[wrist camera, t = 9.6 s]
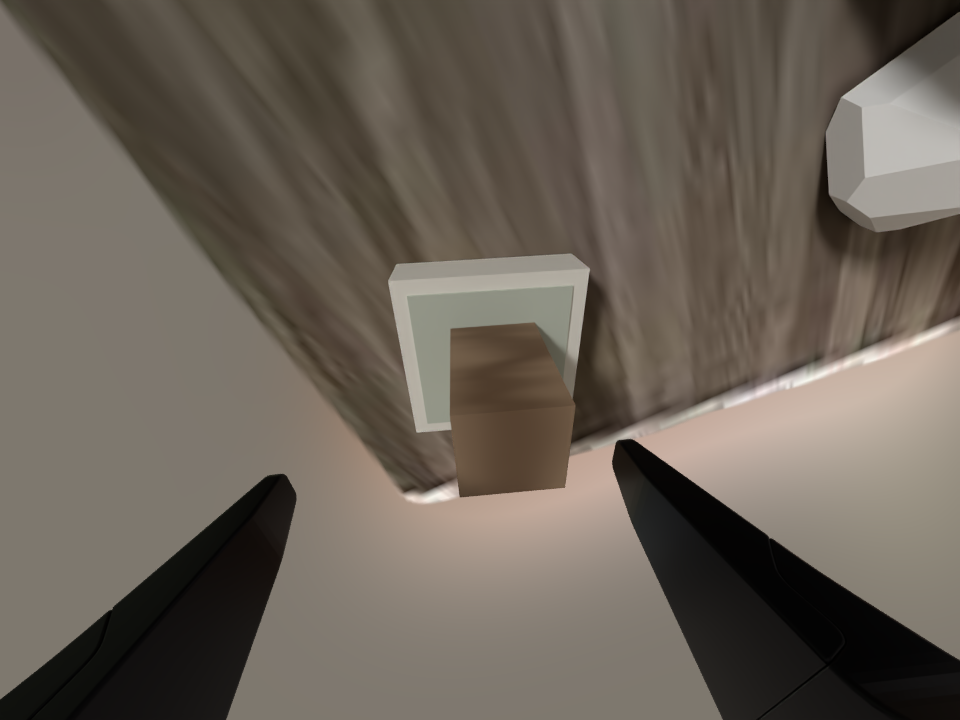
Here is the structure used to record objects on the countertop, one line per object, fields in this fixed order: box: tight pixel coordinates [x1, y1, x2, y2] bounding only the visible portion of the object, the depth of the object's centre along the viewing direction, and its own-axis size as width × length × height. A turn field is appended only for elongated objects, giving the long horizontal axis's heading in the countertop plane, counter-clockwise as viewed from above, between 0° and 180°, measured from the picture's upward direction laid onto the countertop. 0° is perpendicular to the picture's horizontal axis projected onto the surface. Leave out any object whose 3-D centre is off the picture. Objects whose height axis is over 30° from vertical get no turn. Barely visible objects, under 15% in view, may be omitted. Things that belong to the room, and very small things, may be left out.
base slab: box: [388, 254, 590, 432], centre depth 20 cm, size 10×10×3 cm
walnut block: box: [450, 322, 576, 497], centre depth 16 cm, size 4×4×7 cm
